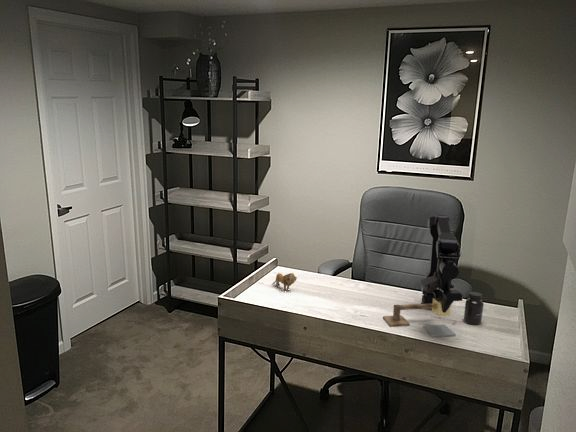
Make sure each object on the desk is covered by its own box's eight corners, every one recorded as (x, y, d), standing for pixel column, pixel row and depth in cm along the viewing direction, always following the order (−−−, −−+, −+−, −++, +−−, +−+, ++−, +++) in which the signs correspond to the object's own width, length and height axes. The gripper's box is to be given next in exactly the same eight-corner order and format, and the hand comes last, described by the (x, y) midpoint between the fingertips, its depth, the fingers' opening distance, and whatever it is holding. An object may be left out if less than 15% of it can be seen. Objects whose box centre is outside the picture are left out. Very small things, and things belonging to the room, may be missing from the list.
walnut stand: (430, 316, 198) (431, 300, 197) (439, 324, 191) (440, 308, 189) (382, 318, 195) (384, 302, 194) (390, 326, 187) (391, 310, 186)
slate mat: (444, 325, 189) (444, 324, 189) (455, 336, 181) (455, 334, 181) (423, 326, 188) (423, 325, 188) (433, 337, 179) (433, 335, 179)
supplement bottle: (479, 326, 189) (482, 298, 187) (461, 322, 193) (464, 294, 190) (482, 320, 195) (486, 293, 193) (465, 316, 199) (468, 289, 196)
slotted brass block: (443, 310, 186) (445, 297, 184) (449, 315, 181) (451, 301, 180) (431, 311, 185) (433, 297, 184) (437, 316, 180) (438, 302, 179)
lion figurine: (298, 291, 222) (298, 273, 221) (290, 294, 219) (290, 275, 217) (276, 283, 232) (276, 265, 231) (268, 286, 229) (268, 268, 227)
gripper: (414, 263, 187) (411, 301, 190) (436, 279, 169) (432, 321, 172) (440, 263, 189) (437, 300, 192) (465, 279, 171) (461, 319, 174)
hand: (441, 309), depth 183 cm, fingers closed on slotted brass block, 5 cm apart
